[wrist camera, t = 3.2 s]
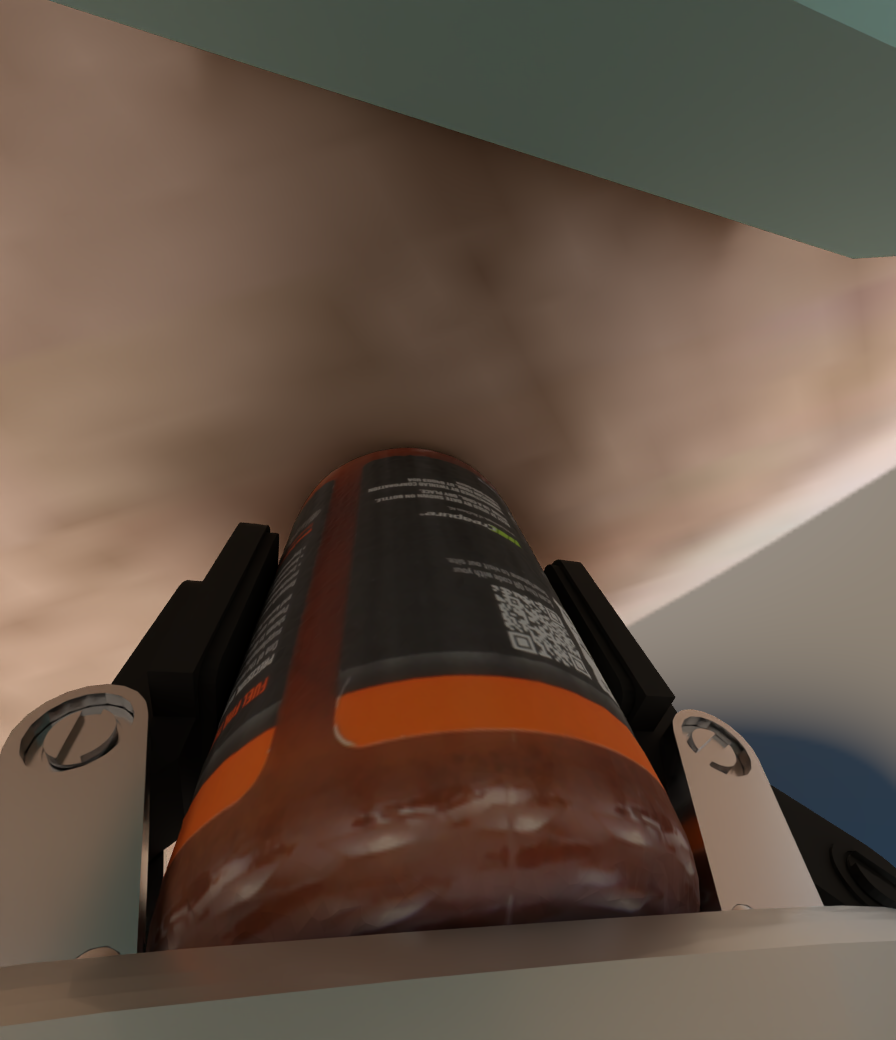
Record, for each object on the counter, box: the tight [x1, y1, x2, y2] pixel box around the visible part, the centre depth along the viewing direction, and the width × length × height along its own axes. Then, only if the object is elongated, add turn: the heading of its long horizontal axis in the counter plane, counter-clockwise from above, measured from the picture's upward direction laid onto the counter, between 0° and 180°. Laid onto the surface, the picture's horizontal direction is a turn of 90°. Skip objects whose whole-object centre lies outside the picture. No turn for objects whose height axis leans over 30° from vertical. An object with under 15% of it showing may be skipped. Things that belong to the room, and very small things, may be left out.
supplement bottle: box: [146, 448, 700, 952], centre depth 7 cm, size 6×6×11 cm
